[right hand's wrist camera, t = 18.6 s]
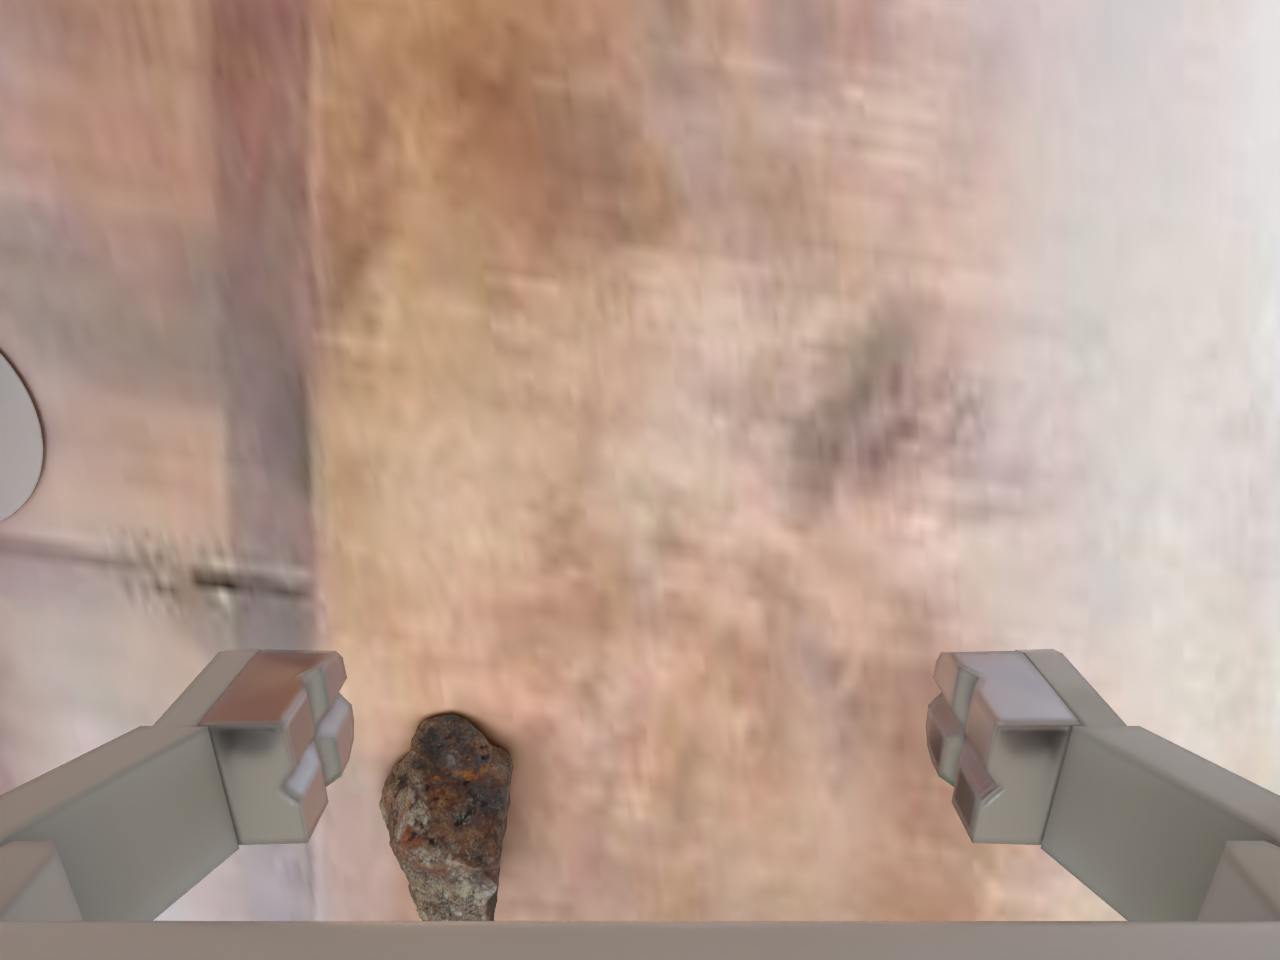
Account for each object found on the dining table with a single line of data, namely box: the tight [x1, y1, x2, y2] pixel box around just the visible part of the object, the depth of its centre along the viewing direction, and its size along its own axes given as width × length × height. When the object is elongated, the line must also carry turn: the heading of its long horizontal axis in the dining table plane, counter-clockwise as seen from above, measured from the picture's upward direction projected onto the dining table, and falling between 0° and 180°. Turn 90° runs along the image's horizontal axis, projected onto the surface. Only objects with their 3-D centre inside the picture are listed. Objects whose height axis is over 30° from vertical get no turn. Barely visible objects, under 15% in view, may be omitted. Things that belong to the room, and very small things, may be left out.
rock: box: [380, 715, 513, 921], centre depth 50 cm, size 14×9×10 cm
